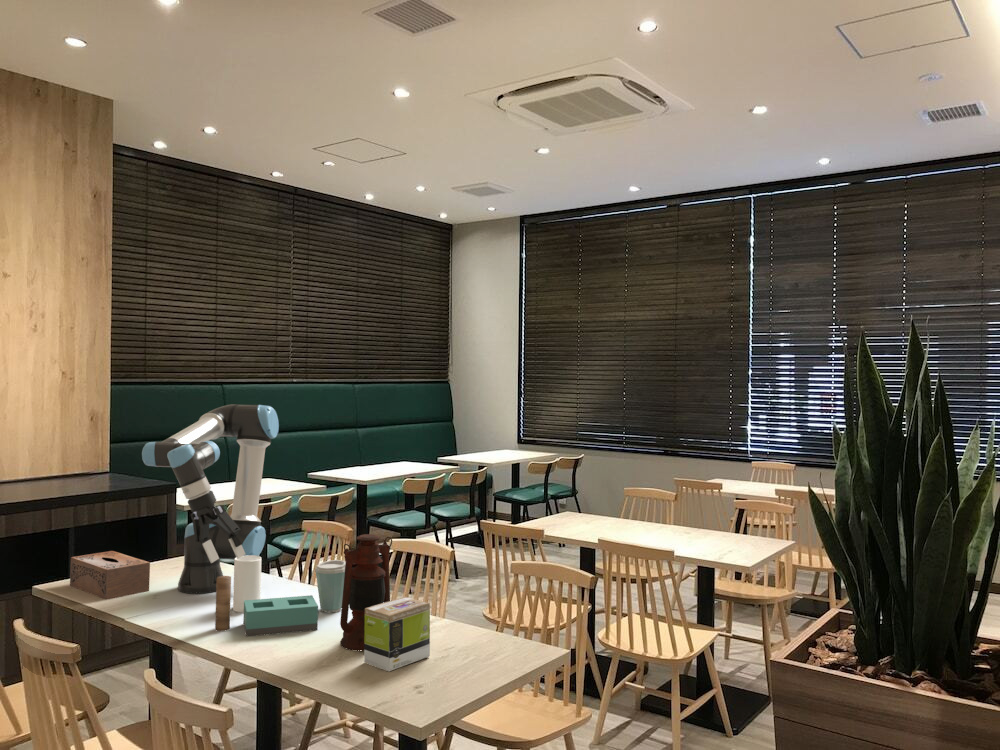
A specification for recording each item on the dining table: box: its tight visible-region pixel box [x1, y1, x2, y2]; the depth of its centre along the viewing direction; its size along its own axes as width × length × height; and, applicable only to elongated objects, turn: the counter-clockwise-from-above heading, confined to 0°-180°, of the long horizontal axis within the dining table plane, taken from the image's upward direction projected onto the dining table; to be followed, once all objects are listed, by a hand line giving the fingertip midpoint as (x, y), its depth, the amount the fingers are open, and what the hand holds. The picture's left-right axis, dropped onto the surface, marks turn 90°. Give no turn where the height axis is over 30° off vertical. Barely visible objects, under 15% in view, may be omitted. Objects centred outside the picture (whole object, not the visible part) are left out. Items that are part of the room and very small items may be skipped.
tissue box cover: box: [69, 550, 151, 601], centre depth 268 cm, size 26×14×10 cm, turn 53°
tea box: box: [363, 596, 431, 672], centre depth 207 cm, size 15×10×15 cm
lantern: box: [339, 533, 393, 652], centre depth 220 cm, size 17×14×30 cm
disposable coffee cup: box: [314, 559, 346, 613], centre depth 250 cm, size 11×11×15 cm
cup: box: [232, 555, 262, 613], centre depth 249 cm, size 8×8×16 cm
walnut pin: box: [214, 575, 232, 632], centre depth 229 cm, size 4×4×15 cm
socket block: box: [242, 594, 319, 637], centre depth 232 cm, size 12×20×7 cm, turn 112°
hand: (228, 558), depth 236 cm, fingers open, 13 cm apart
